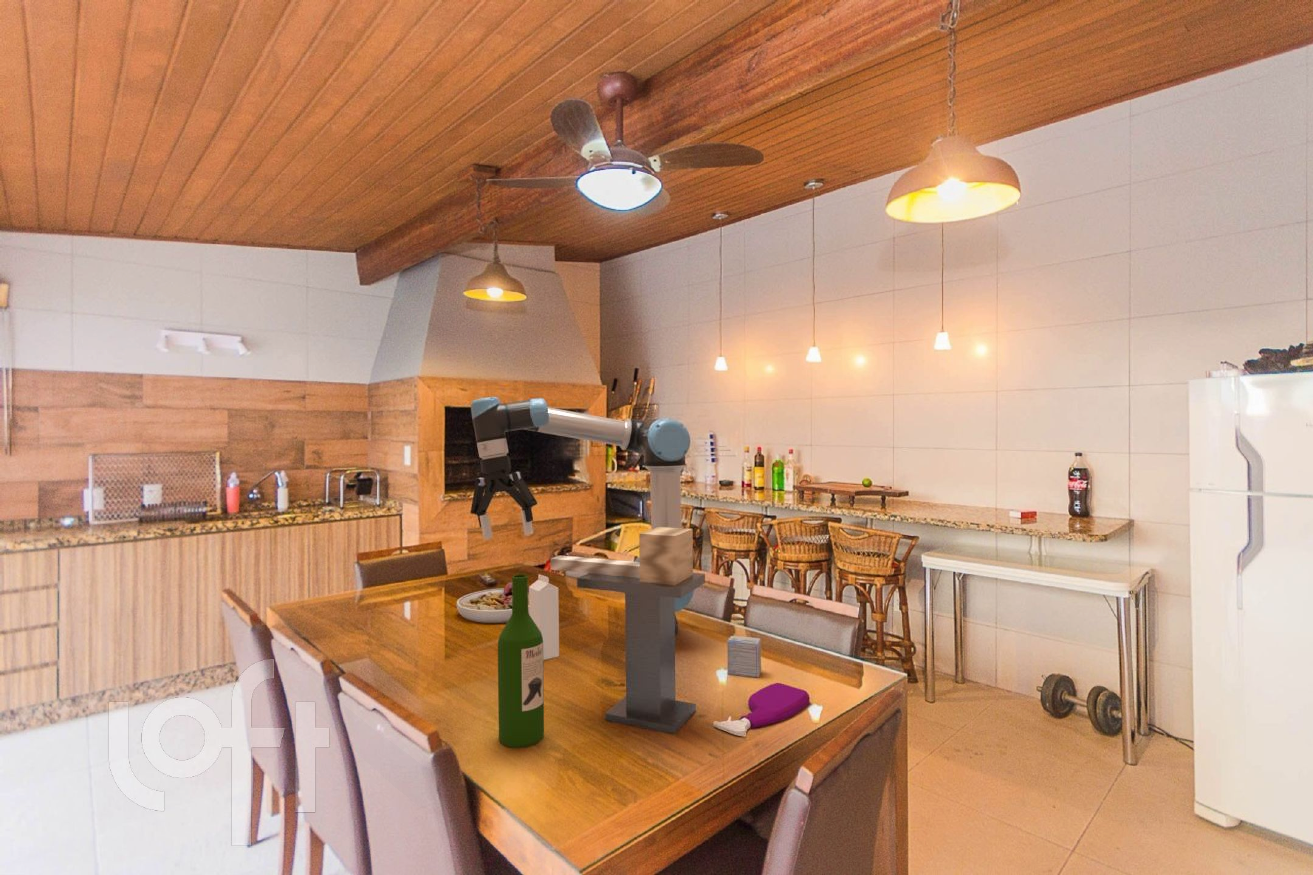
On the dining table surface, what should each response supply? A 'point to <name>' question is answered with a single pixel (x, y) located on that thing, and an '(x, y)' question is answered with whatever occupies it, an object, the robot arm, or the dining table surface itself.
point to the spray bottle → (767, 708)
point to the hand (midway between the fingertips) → (508, 536)
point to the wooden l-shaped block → (643, 559)
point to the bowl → (488, 605)
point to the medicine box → (744, 656)
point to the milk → (545, 614)
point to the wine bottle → (520, 674)
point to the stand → (648, 651)
